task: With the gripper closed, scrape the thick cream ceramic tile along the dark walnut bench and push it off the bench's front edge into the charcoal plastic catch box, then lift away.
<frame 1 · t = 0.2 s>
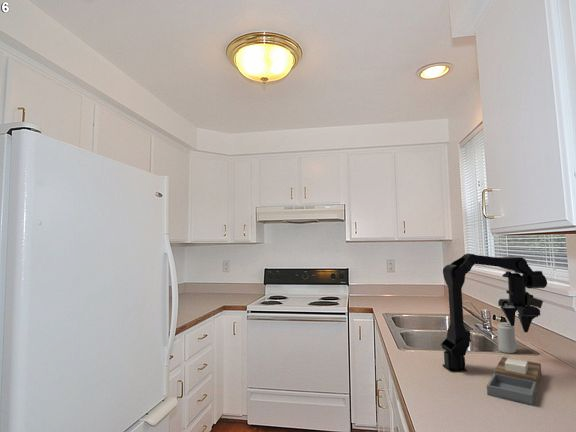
hand: (519, 329, 138), 14 cm above the worktop, tool pointing down, fingers open, 9 cm apart
tile: (516, 369, 124), point 4 cm above the worktop, touching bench
catch box: (512, 393, 115), on the worktop
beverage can: (507, 352, 153), on the worktop
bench: (518, 378, 126), on the worktop
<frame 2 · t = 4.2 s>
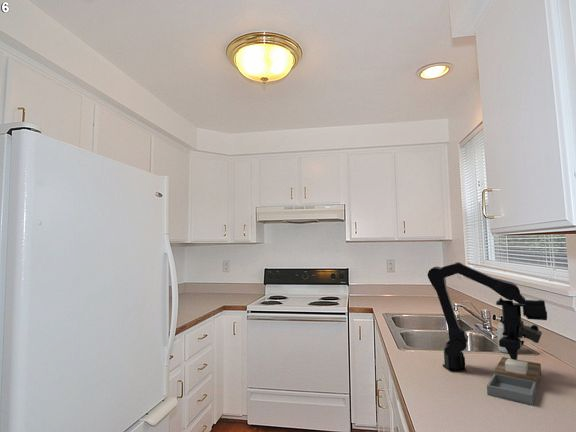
hand: (514, 361, 127), 6 cm above the worktop, tool pointing down, fingers closed
tile: (516, 369, 123), point 4 cm above the worktop, touching gripper
everything else where it was.
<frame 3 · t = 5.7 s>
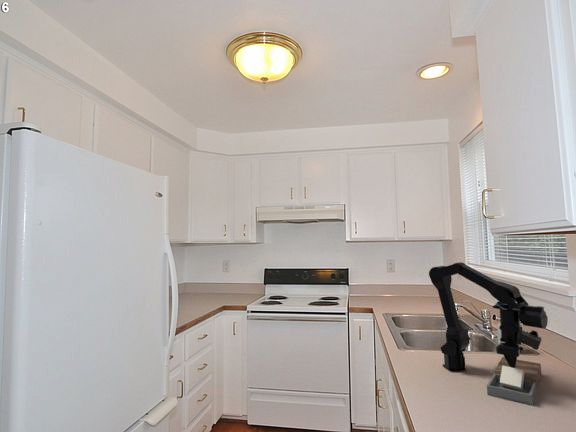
hand: (513, 369, 120), 6 cm above the worktop, tool pointing down, fingers closed, pressing on tile
tile: (513, 379, 119), point 3 cm above the worktop, tilted 46°, touching catch box, gripper
everything else where it was.
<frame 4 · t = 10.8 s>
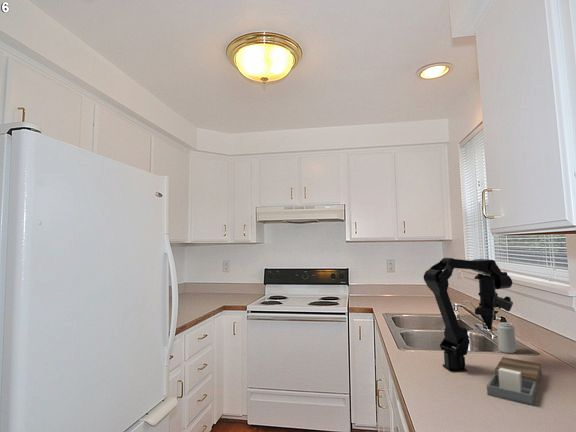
hand: (489, 329, 142), 13 cm above the worktop, tool pointing down, fingers closed
tile: (511, 379, 117), point 3 cm above the worktop, tilted 90°, touching catch box
everything else where it was.
at the end: tile 2.7 cm from the catch box (horizontally); tile point 3.5 cm above the worktop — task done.
